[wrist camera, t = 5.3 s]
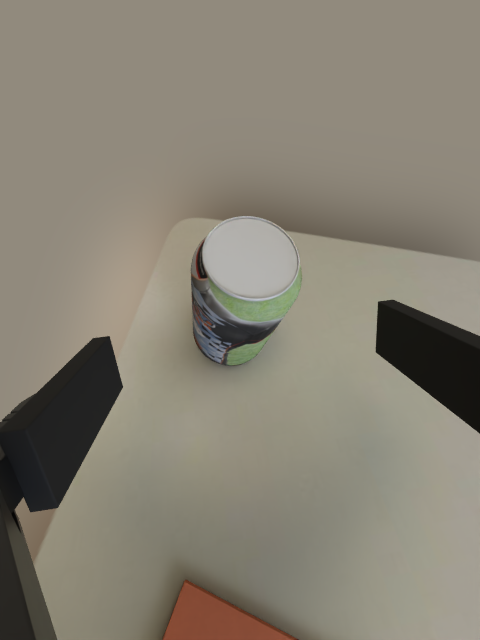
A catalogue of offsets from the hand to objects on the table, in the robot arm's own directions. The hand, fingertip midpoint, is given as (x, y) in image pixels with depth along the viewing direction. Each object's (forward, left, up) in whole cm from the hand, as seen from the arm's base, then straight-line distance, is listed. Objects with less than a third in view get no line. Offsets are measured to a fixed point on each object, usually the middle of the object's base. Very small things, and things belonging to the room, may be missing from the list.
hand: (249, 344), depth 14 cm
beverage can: (-2, +4, -10) cm, 11 cm away
